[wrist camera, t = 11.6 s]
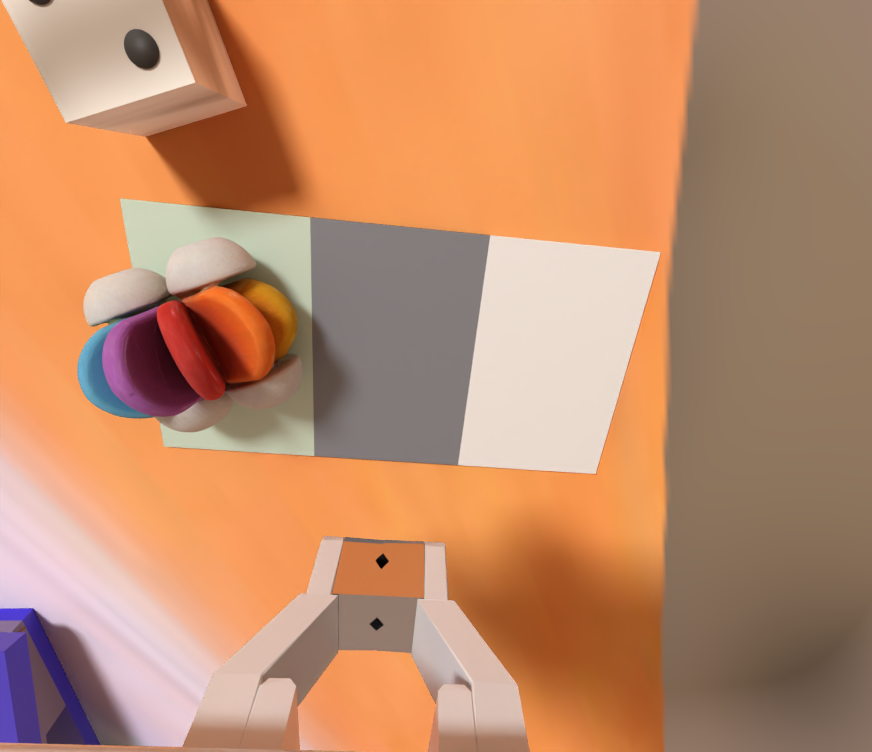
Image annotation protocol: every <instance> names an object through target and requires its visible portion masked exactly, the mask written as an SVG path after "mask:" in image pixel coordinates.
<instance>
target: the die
mask: <svg viewBox="0 0 872 752" xmlns="http://www.w3.org/2000/svg"><path fill="white" fill-rule="evenodd" d="M2 2H3V4H4V6H5V7H6V9H7V11H8V13H9V15H10V17H11V19H12V21H13V23H14V25H15V27H16V28H17V30H18V32H19V34H20V36H21V38H22V40H23V42H24V44H25V46H26V48H27V49H28V51H29V53H30V55H31V57H32V59H33V61H34V63H35V65H36V67H37V69H38V70H39V72H40V74H41V76H42V78H43V80H44V82H45V84H46V86H47V88H48V90H49V91H50V93H51V95H52V97H53V99H54V101H55V103H56V105H57V107H58V109H59V111H60V112H61V114H62V116H63V118H64V120H65V122H66V123H70V124H76V125H81V126H87V127H93V128H98V129H104V130H110V131H115V132H121V133H127V134H132V135H138V136H144V137H147V136H150V135H153V134H157V133H160V132H163V131H167V130H170V129H173V128H176V127H180V126H183V125H186V124H190V123H193V122H196V121H200V120H203V119H206V118H209V117H213V116H216V115H219V114H223V113H226V112H229V111H232V110H236V109H239V108H242V107H246V106H247V104H246V102H245V99H244V96H243V94H242V91H241V88H240V86H239V83H238V80H237V77H236V75H235V72H234V69H233V67H232V64H231V61H230V59H229V56H228V53H227V51H226V48H225V45H224V42H223V40H222V37H221V34H220V32H219V29H218V26H217V24H216V21H215V18H214V16H213V13H212V10H211V8H210V5H209V2H208V0H2Z"/></svg>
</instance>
